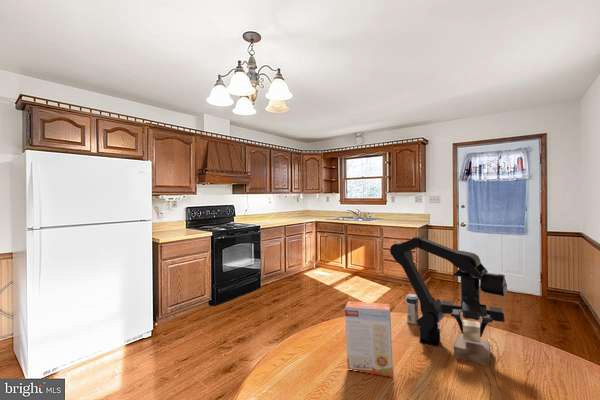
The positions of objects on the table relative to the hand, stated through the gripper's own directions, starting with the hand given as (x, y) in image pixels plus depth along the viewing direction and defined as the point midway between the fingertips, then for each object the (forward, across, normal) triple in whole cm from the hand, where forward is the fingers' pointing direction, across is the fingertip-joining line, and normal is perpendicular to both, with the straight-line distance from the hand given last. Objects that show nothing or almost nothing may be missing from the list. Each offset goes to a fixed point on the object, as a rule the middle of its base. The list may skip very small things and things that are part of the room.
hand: (471, 335), depth 99 cm
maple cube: (+1, 0, 0) cm, 1 cm away
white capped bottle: (+7, -22, +18) cm, 29 cm away
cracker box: (+7, -29, -24) cm, 38 cm away
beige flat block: (+7, 0, 0) cm, 7 cm away
